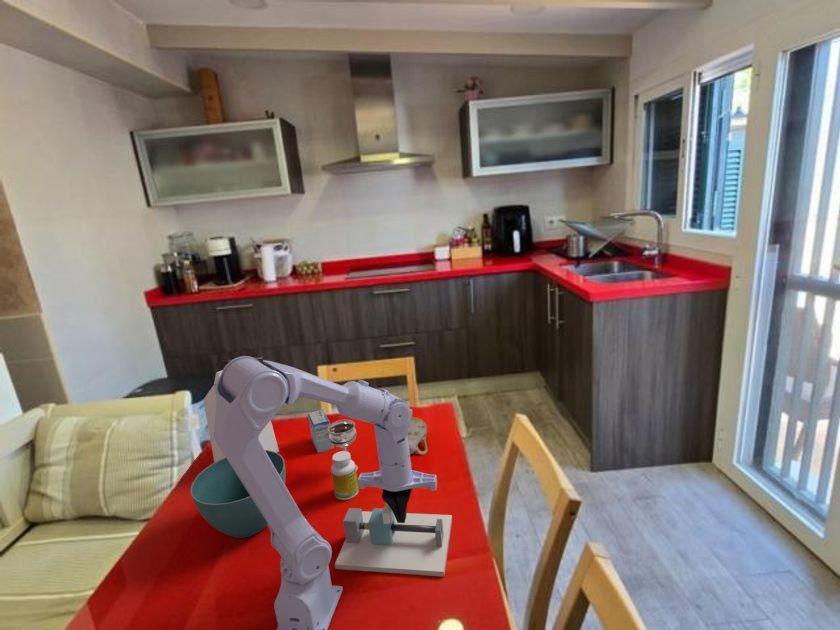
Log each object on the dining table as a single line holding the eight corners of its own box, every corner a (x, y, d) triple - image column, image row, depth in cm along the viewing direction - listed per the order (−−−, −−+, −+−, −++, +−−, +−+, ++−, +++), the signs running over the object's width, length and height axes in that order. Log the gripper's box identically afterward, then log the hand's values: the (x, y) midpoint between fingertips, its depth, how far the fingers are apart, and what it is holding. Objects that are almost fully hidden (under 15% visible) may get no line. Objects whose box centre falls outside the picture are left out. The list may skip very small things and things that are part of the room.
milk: (242, 475, 112) (220, 381, 105) (214, 464, 118) (193, 374, 111) (279, 451, 121) (261, 363, 115) (252, 442, 128) (234, 358, 121)
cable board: (444, 576, 77) (441, 548, 75) (335, 568, 80) (330, 541, 79) (452, 519, 90) (449, 494, 88) (358, 515, 94) (355, 490, 92)
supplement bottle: (354, 501, 98) (348, 463, 96) (331, 500, 99) (325, 462, 97) (361, 486, 103) (356, 449, 101) (340, 484, 104) (334, 448, 102)
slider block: (391, 544, 83) (387, 513, 81) (371, 543, 84) (366, 512, 82) (396, 528, 87) (392, 498, 85) (376, 528, 87) (372, 497, 86)
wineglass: (364, 472, 108) (358, 428, 105) (337, 481, 106) (330, 436, 103) (357, 458, 114) (351, 417, 111) (331, 466, 112) (325, 424, 109)
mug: (394, 459, 113) (389, 419, 116) (411, 455, 122) (406, 418, 124) (420, 455, 110) (414, 415, 113) (435, 452, 119) (430, 414, 121)
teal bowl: (311, 511, 96) (302, 462, 93) (237, 571, 82) (224, 515, 79) (260, 487, 106) (250, 442, 103) (186, 536, 92) (172, 486, 89)
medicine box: (312, 440, 125) (307, 413, 123) (327, 435, 127) (322, 408, 125) (317, 453, 118) (312, 424, 116) (334, 448, 120) (329, 420, 118)
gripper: (436, 444, 82) (442, 506, 86) (362, 443, 85) (370, 503, 89) (431, 467, 76) (437, 532, 79) (350, 465, 78) (360, 529, 82)
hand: (401, 519), depth 83 cm, fingers closed
